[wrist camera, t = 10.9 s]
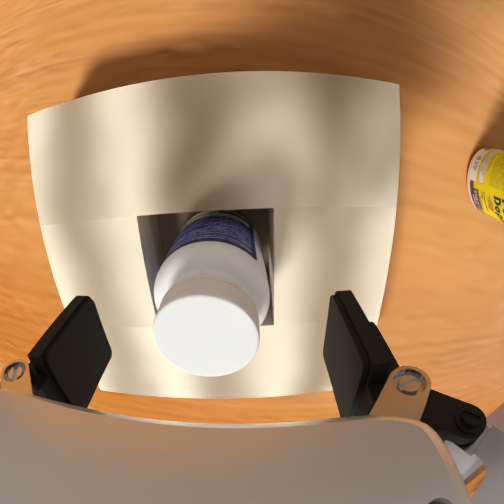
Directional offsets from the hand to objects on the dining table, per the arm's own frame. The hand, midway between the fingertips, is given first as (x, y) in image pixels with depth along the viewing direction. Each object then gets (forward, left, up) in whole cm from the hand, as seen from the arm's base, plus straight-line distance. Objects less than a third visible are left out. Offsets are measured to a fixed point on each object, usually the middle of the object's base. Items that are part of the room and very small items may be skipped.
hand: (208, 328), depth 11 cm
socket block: (0, 0, -9) cm, 9 cm away
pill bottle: (0, 0, -9) cm, 8 cm away
